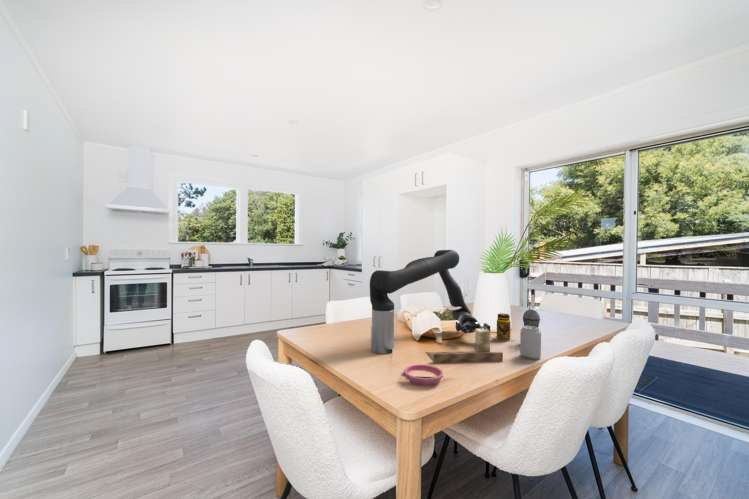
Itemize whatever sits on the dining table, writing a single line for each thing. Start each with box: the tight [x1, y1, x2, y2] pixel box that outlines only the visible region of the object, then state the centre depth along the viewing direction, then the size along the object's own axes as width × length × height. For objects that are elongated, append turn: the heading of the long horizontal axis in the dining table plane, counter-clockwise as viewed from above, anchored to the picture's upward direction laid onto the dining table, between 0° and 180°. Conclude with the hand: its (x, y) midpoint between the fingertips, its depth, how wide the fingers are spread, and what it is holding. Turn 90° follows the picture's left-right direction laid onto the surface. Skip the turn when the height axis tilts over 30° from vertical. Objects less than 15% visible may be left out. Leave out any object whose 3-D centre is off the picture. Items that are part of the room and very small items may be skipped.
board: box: [425, 350, 504, 364], centre depth 125 cm, size 26×12×4 cm, turn 97°
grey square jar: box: [519, 325, 542, 360], centre depth 130 cm, size 8×8×12 cm
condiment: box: [490, 312, 514, 342], centre depth 156 cm, size 7×8×12 cm
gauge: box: [474, 328, 491, 352], centre depth 125 cm, size 4×7×10 cm
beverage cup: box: [522, 299, 541, 328], centre depth 148 cm, size 7×7×20 cm
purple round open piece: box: [404, 364, 444, 387], centre depth 106 cm, size 12×12×3 cm
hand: (476, 331), depth 136 cm, fingers open, 8 cm apart
